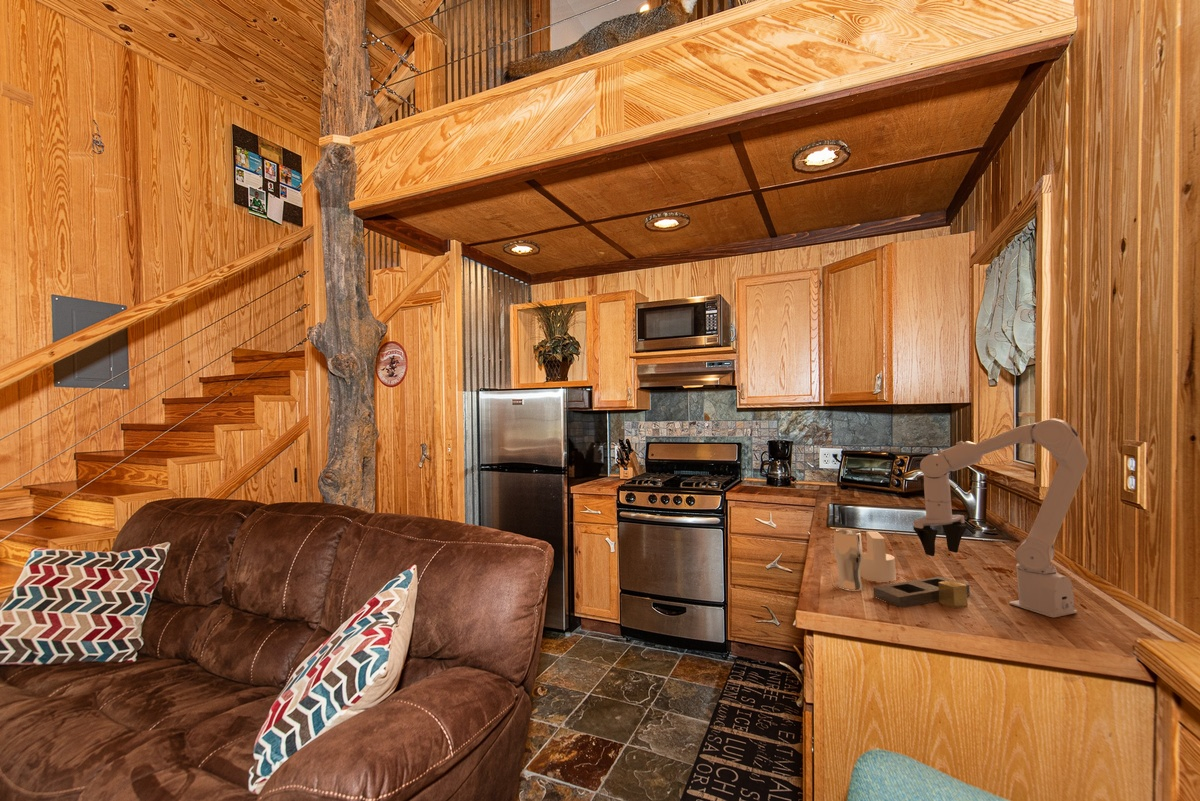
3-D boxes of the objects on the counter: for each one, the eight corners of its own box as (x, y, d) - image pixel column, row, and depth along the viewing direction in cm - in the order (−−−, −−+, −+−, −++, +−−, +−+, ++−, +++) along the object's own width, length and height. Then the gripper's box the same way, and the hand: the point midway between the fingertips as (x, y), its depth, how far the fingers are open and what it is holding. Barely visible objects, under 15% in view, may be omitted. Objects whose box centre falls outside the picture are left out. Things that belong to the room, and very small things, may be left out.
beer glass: (830, 586, 142) (827, 530, 143) (850, 582, 145) (846, 527, 145) (850, 593, 136) (847, 535, 136) (871, 589, 138) (867, 532, 139)
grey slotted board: (940, 585, 139) (940, 576, 139) (969, 595, 131) (969, 585, 131) (873, 597, 132) (873, 587, 133) (900, 607, 125) (899, 597, 125)
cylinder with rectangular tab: (899, 583, 142) (897, 538, 143) (863, 581, 145) (861, 538, 145) (891, 573, 151) (888, 531, 151) (857, 572, 153) (854, 531, 154)
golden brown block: (967, 606, 124) (966, 584, 124) (954, 608, 123) (953, 587, 123) (952, 600, 128) (950, 580, 128) (939, 603, 127) (938, 582, 127)
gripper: (945, 496, 141) (949, 546, 141) (902, 500, 138) (906, 552, 137) (970, 499, 135) (974, 552, 134) (925, 504, 131) (929, 559, 130)
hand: (941, 553), depth 135 cm, fingers open, 7 cm apart
